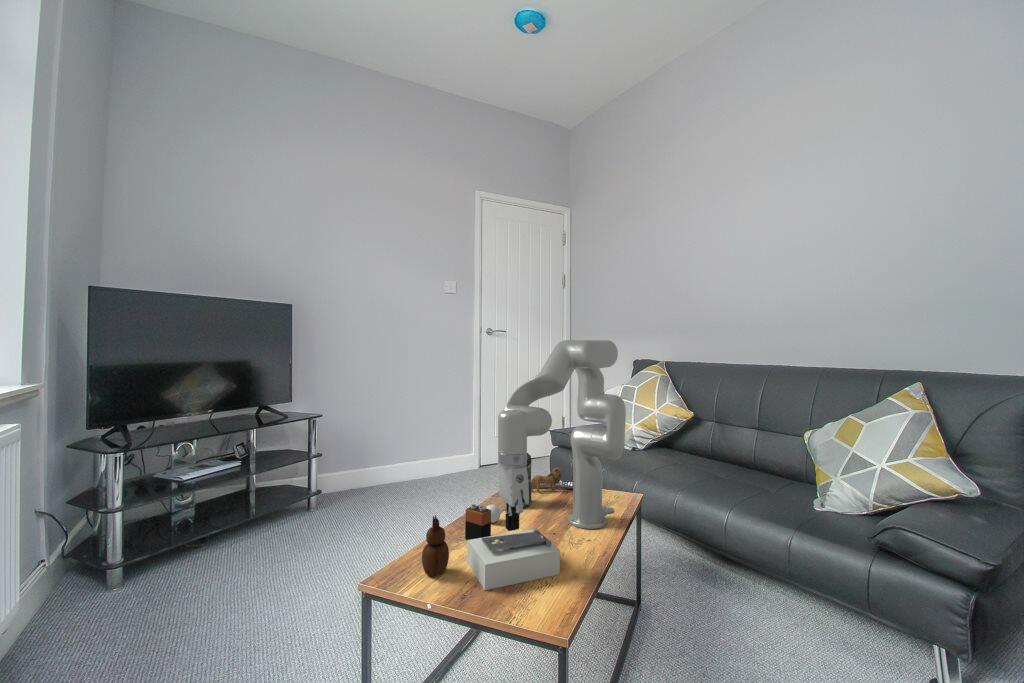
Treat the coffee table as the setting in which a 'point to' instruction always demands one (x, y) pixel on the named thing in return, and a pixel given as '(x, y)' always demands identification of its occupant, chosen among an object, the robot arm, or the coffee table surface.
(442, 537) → the wooden figurine
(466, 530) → the battery
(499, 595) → the coffee table surface
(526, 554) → the keepsake box
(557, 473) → the lion figurine
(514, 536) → the clasp strap
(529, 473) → the coffee jar
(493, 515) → the seamed sphere
